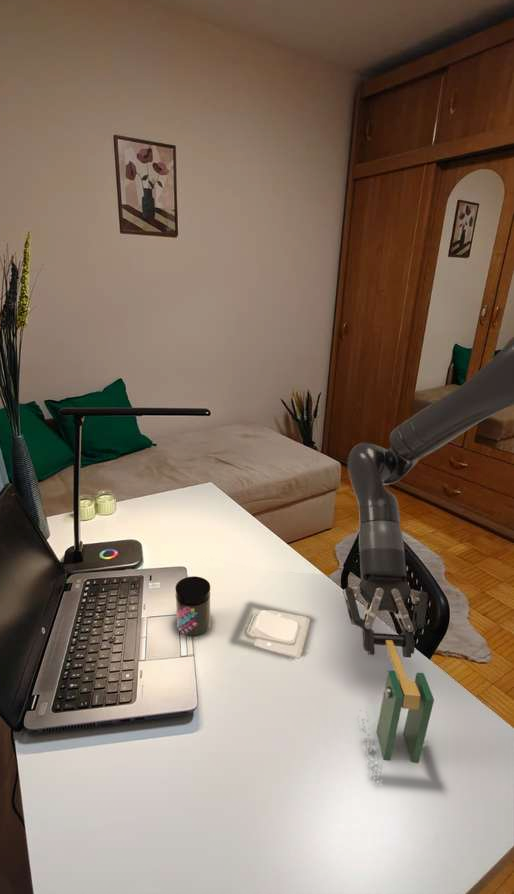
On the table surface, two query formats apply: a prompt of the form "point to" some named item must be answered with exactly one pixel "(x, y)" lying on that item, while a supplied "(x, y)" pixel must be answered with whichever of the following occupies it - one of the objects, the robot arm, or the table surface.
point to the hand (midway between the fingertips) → (389, 655)
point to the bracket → (414, 720)
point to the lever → (399, 669)
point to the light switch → (279, 632)
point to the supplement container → (193, 606)
